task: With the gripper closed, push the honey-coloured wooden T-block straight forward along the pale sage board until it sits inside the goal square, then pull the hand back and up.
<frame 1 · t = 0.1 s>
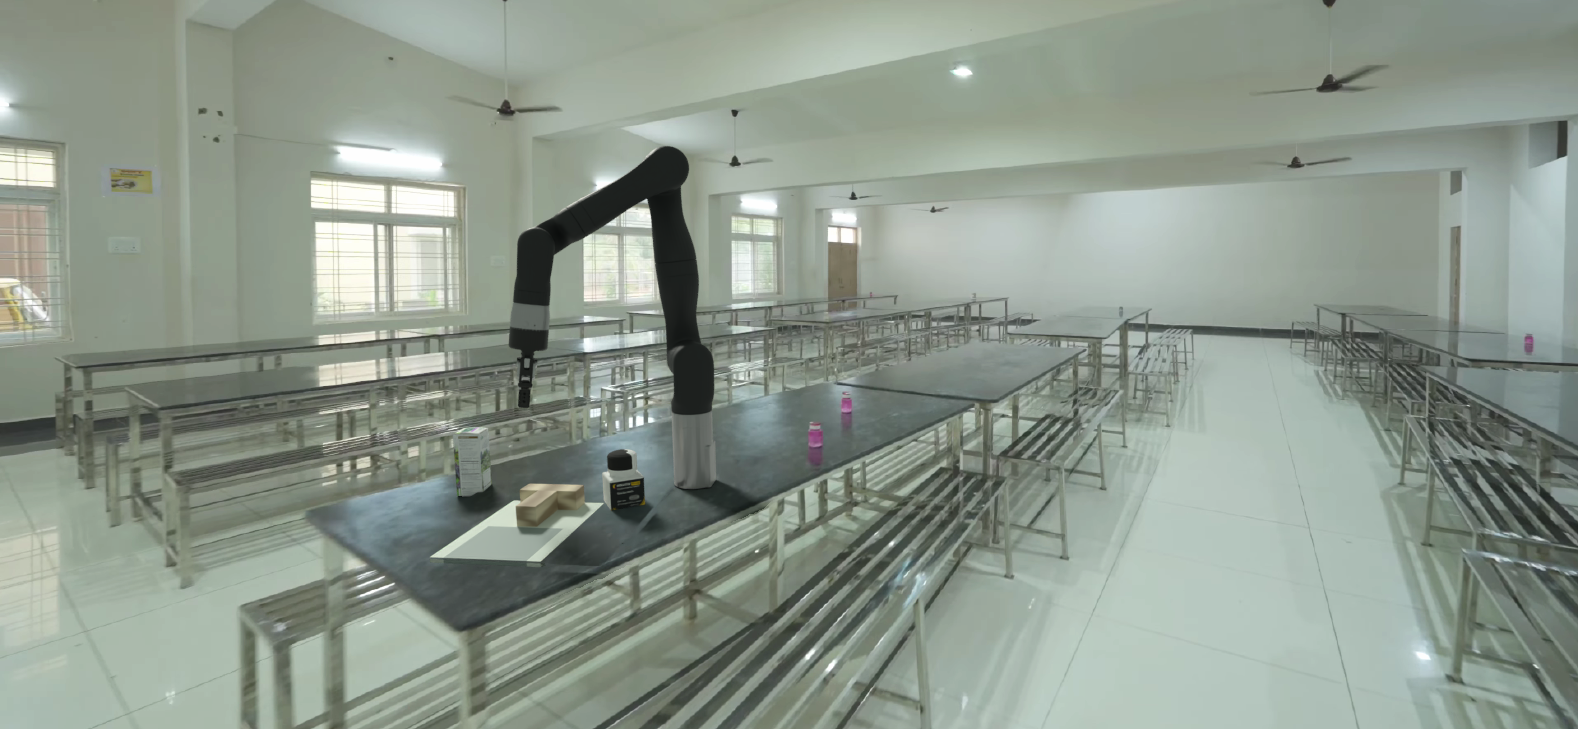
hand: (523, 403, 138), 22 cm above the table, tool pointing down, fingers open, 8 cm apart
medicine bottle: (624, 507, 140), on the table
wooden T-block: (542, 513, 134), point 1 cm above the table, touching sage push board
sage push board: (525, 532, 127), on the table
syrup box: (475, 493, 150), on the table
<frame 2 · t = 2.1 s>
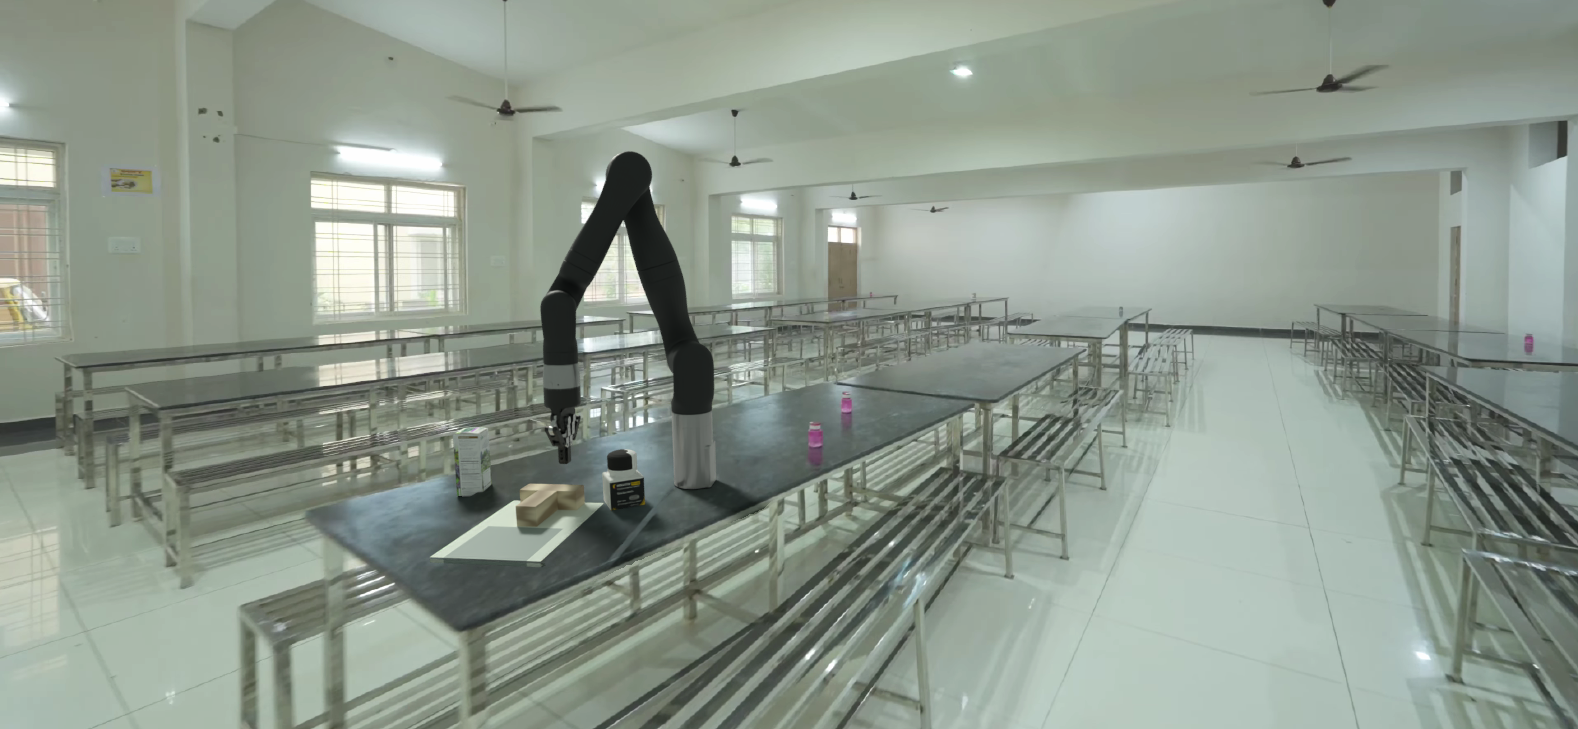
hand: (565, 462, 144), 8 cm above the table, tool pointing down, fingers closed
nothing on the table moved.
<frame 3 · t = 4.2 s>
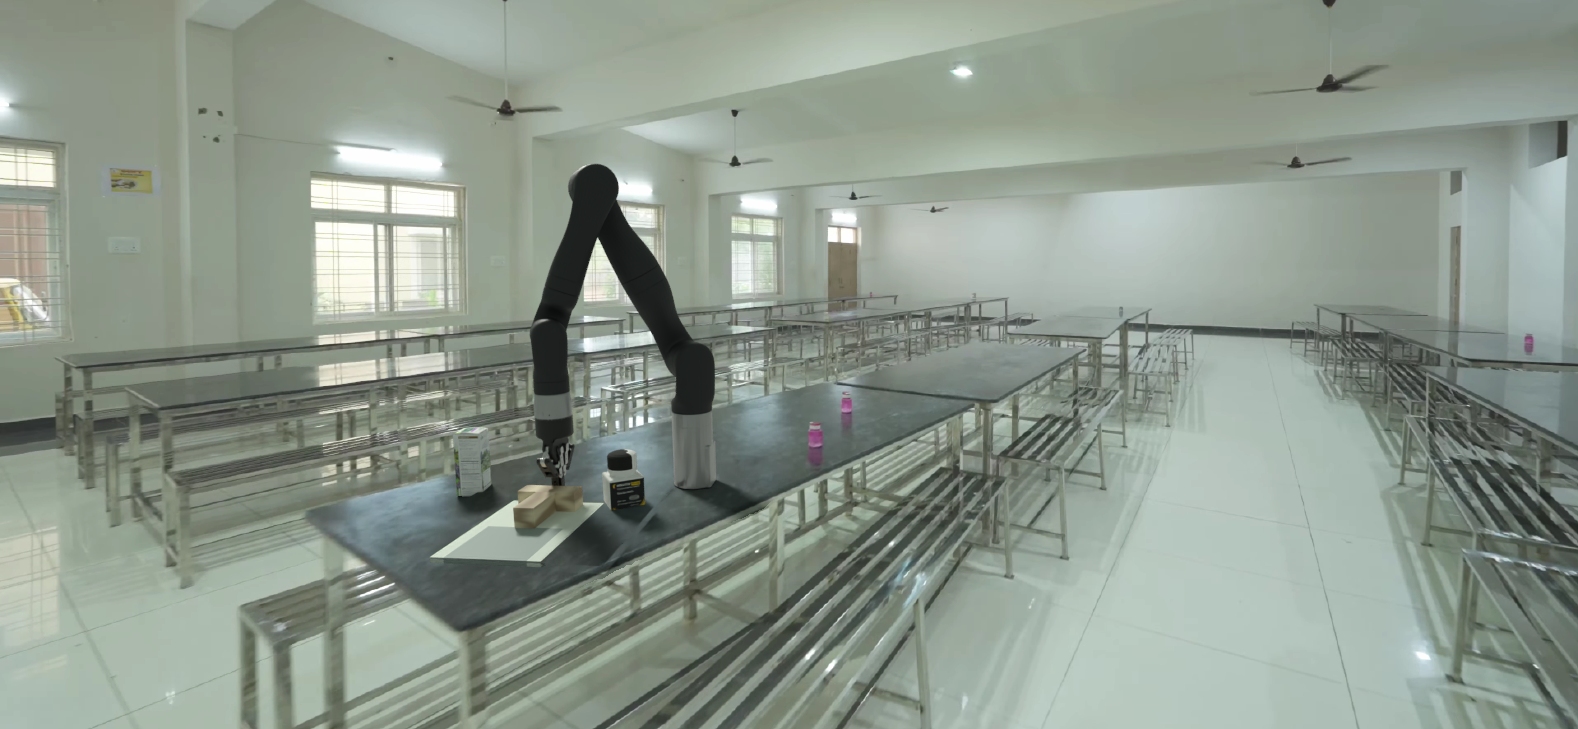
hand: (559, 493, 141), 3 cm above the table, tool pointing down, fingers closed
wooden T-block: (540, 515, 133), point 1 cm above the table, touching gripper, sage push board
everything else where it was.
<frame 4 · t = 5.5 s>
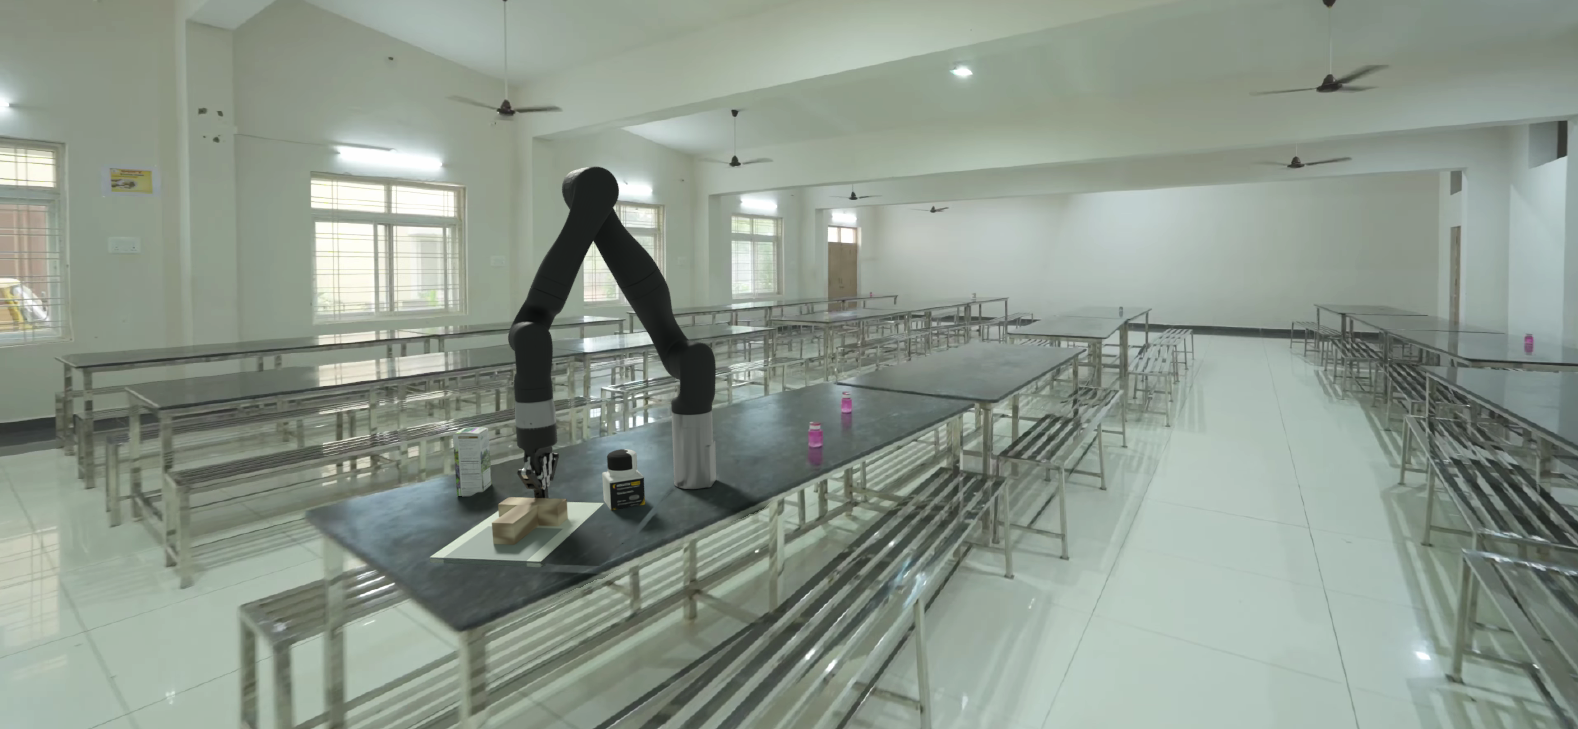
hand: (542, 505, 134), 3 cm above the table, tool pointing down, fingers closed
wooden T-block: (522, 530, 125), point 1 cm above the table, touching gripper
everything else where it was.
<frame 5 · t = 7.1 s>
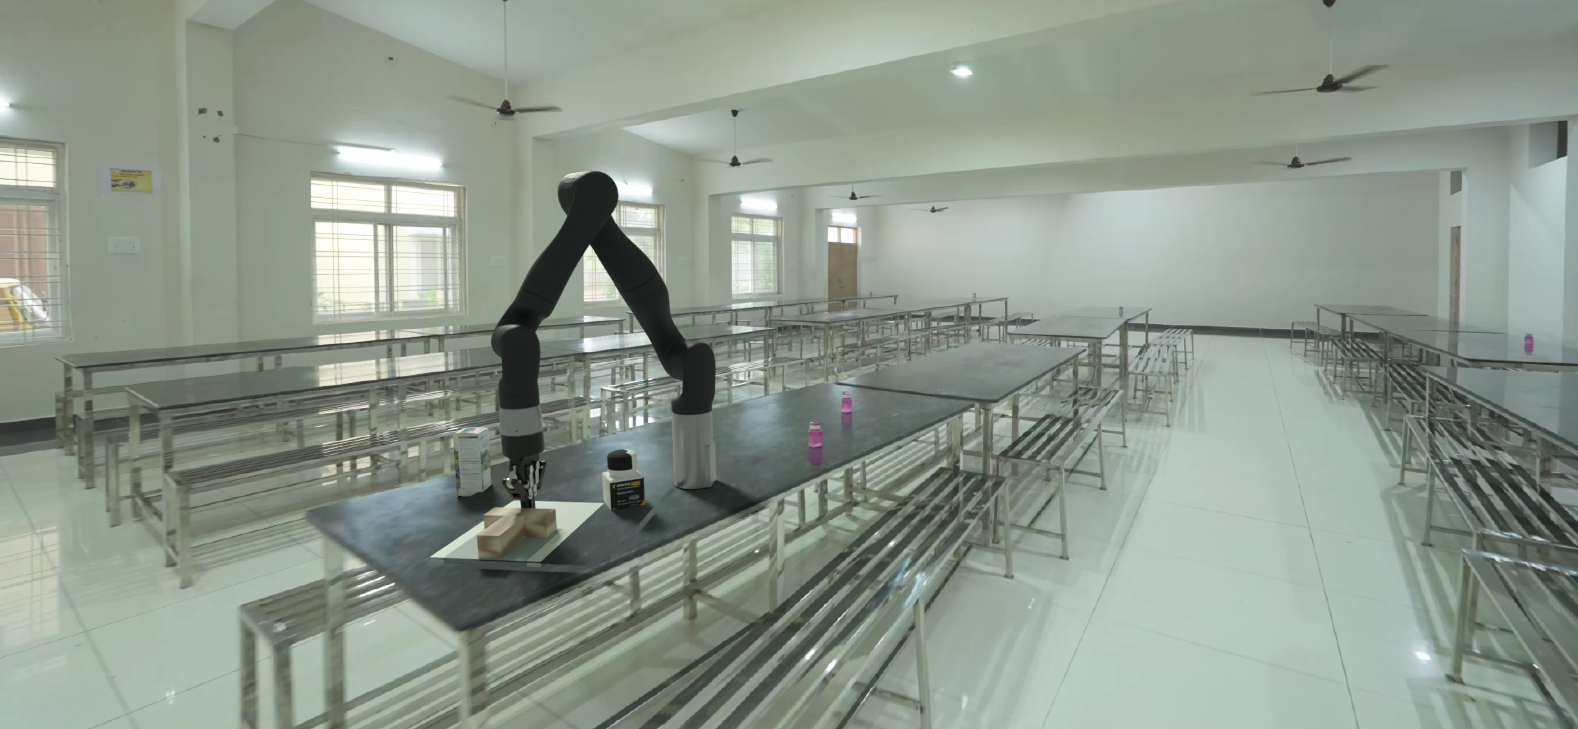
hand: (529, 516, 128), 3 cm above the table, tool pointing down, fingers closed
wooden T-block: (509, 542, 120), point 1 cm above the table, touching gripper, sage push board
everything else where it was.
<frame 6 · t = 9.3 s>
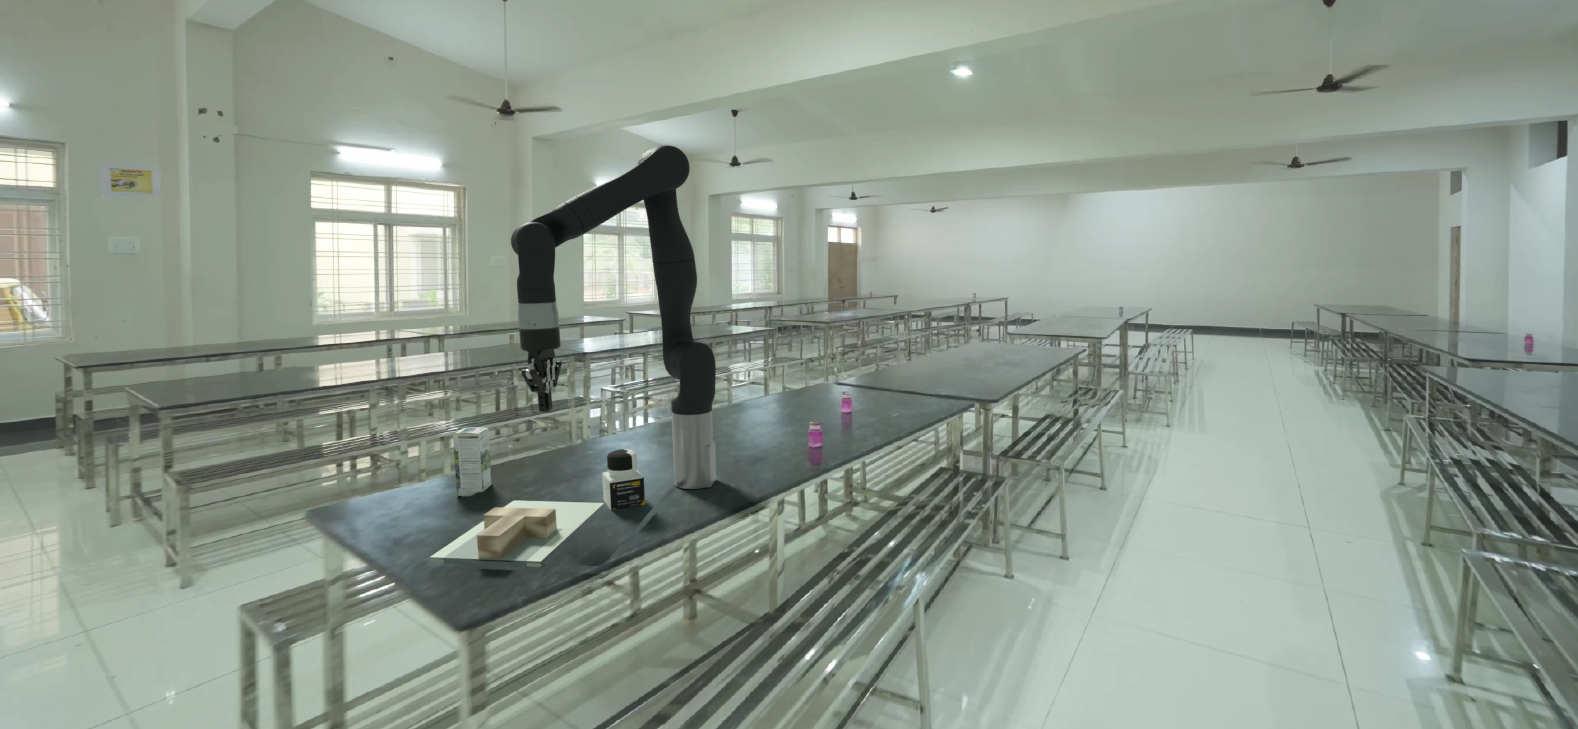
hand: (545, 410, 135), 21 cm above the table, tool pointing down, fingers closed
wooden T-block: (509, 542, 120), point 1 cm above the table, touching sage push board
everything else where it was.
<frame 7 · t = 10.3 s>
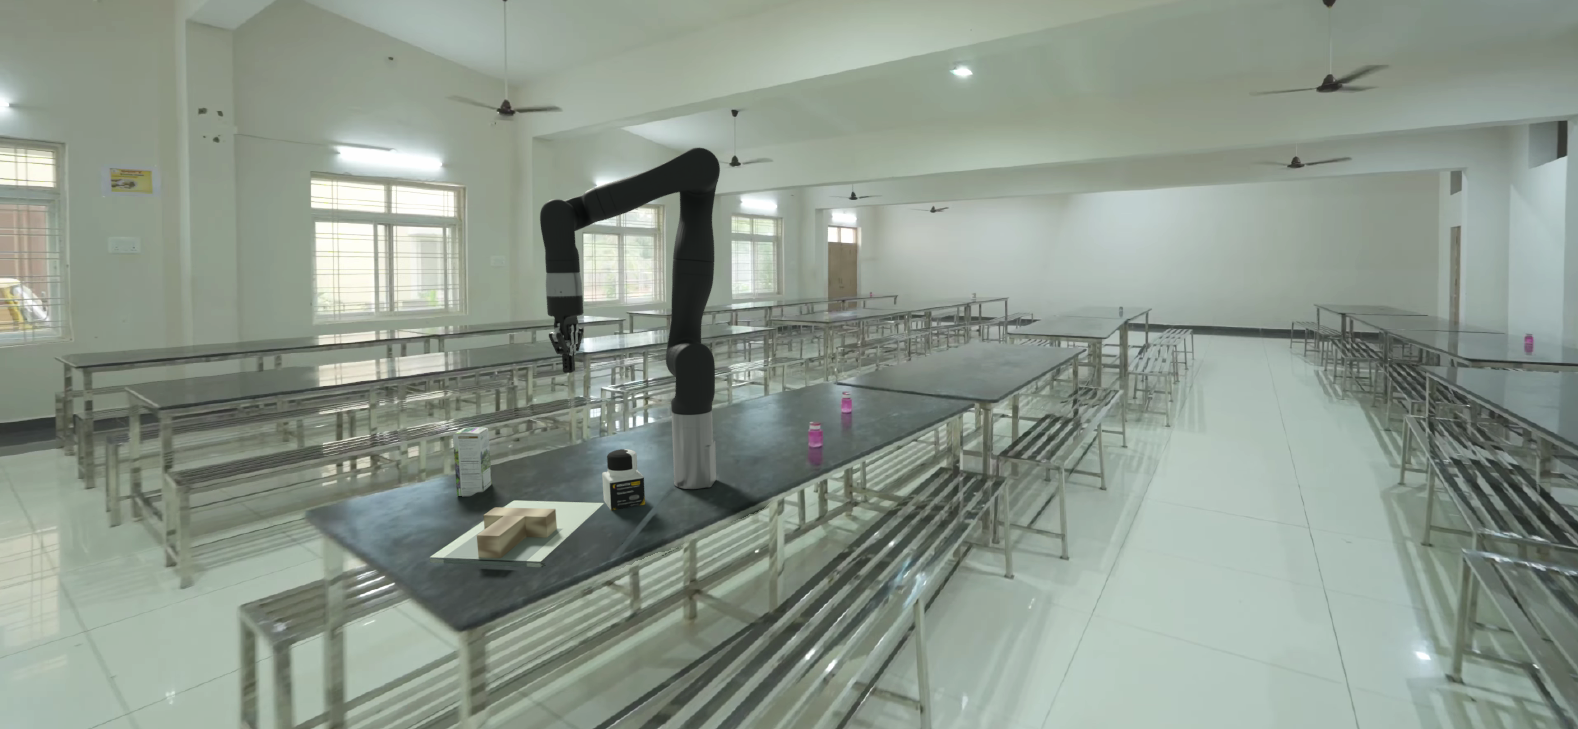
hand: (569, 372, 148), 27 cm above the table, tool pointing down, fingers closed
nothing on the table moved.
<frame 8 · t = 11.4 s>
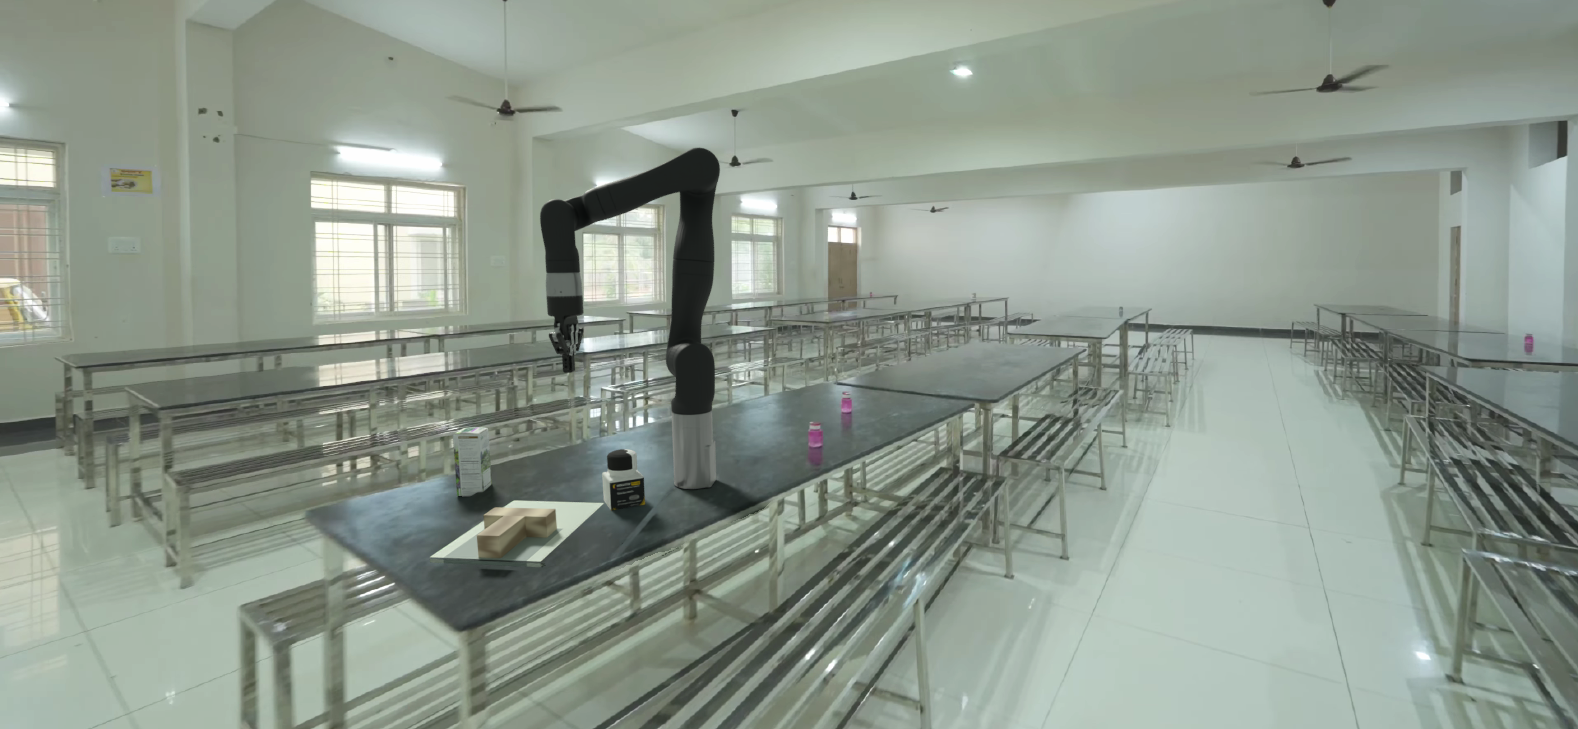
hand: (569, 372, 148), 27 cm above the table, tool pointing down, fingers closed
nothing on the table moved.
at the end: wooden T-block 0.5 cm from the target spot on the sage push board, point 1.0 cm above the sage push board's base; wooden T-block tilted 0° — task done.
